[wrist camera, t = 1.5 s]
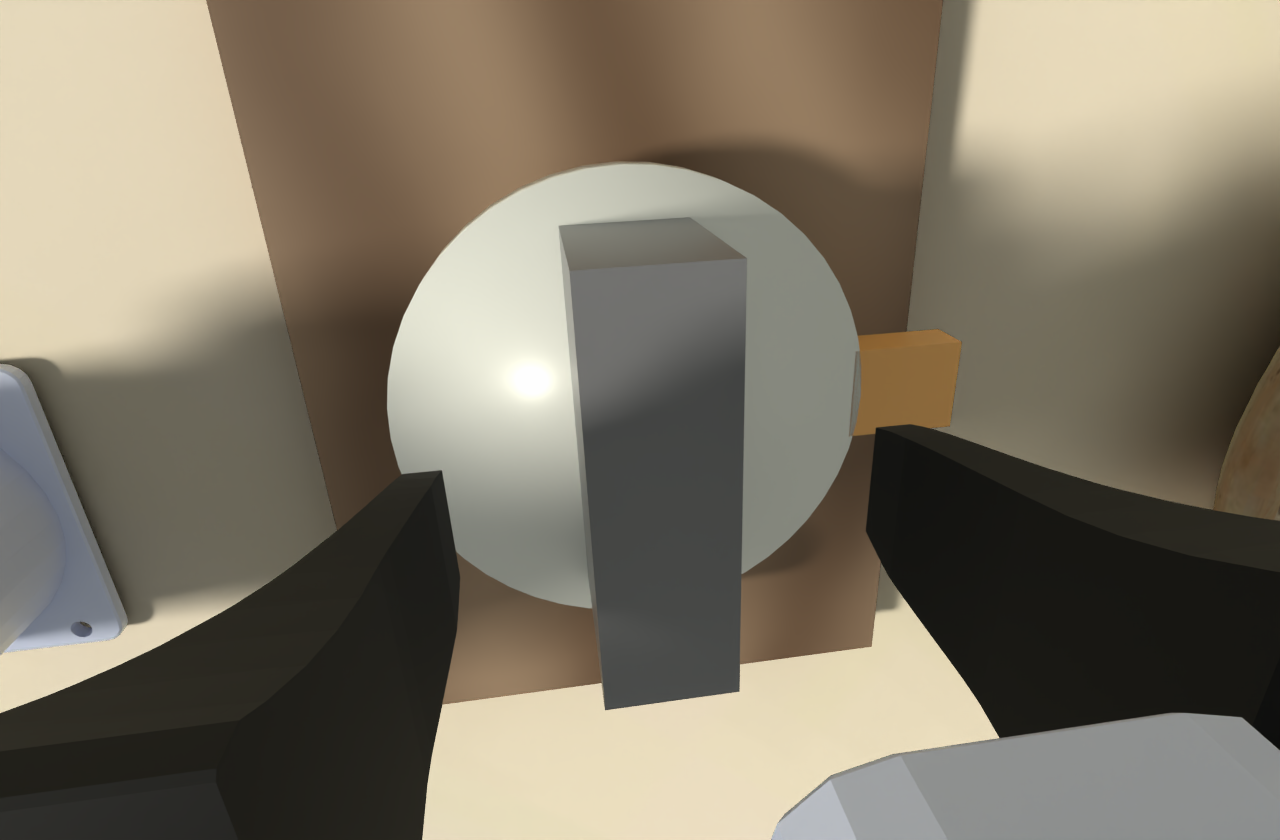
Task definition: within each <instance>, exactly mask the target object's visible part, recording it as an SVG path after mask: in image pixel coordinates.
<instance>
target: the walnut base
mask: <svg viewBox="0 0 1280 840" xmlns="http://www.w3.org/2000/svg"><path fill="white" fill-rule="evenodd" d="M206 1H207V5H208V9H209V13H210V17H211V21H212V25H213V29H214V33H215V38H216V42H217V46H218V50H219V54H220V58H221V62H222V66H223V70H224V74H225V78H226V82H227V86H228V90H229V94H230V98H231V102H232V106H233V110H234V115H235V119H236V123H237V127H238V131H239V135H240V139H241V143H242V147H243V151H244V155H245V159H246V163H247V167H248V171H249V175H250V179H251V183H252V187H253V191H254V196H255V200H256V204H257V208H258V212H259V216H260V220H261V224H262V228H263V232H264V236H265V240H266V244H267V248H268V252H269V256H270V260H271V264H272V268H273V273H274V277H275V281H276V285H277V289H278V293H279V297H280V301H281V305H282V309H283V313H284V317H285V321H286V325H287V329H288V333H289V337H290V341H291V345H292V350H293V354H294V358H295V362H296V366H297V370H298V374H299V378H300V382H301V386H302V390H303V394H304V398H305V402H306V406H307V410H308V414H309V418H310V422H311V426H312V431H313V435H314V439H315V443H316V447H317V451H318V455H319V459H320V463H321V467H322V471H323V475H324V479H325V483H326V487H327V491H328V495H329V499H330V503H331V508H332V512H333V516H334V520H335V524H336V528H337V530H339V529H340V528H341V527H342V526H343V525H344V524H345V523H347V522H348V521H349V520H350V519H351V518H352V517H353V516H355V515H356V514H357V513H358V512H359V511H360V510H361V509H363V508H364V507H365V506H366V505H367V504H368V503H369V502H370V501H372V500H373V499H374V498H375V497H376V496H377V495H378V494H379V493H380V492H382V491H383V490H384V489H385V488H386V487H387V486H388V485H389V484H391V483H392V482H393V481H394V480H395V479H397V478H398V477H399V476H401V475H402V474H401V471H400V469H399V467H398V463H397V460H396V456H395V452H394V449H393V445H392V442H391V437H390V429H389V421H388V413H387V388H388V374H389V368H390V362H391V356H392V351H393V346H394V343H395V340H396V337H397V334H398V331H399V328H400V325H401V322H402V319H403V316H404V314H405V312H406V310H407V308H408V306H409V304H410V302H411V300H412V298H413V296H414V294H415V292H416V290H417V288H418V286H419V284H420V283H421V281H422V279H423V278H424V276H425V275H426V273H427V272H428V270H429V269H430V267H431V266H432V264H433V263H434V262H435V260H436V259H437V257H438V256H439V254H440V253H441V252H442V250H443V249H444V248H445V247H446V246H447V245H448V243H449V242H450V241H451V240H452V239H453V238H454V237H455V236H456V235H457V234H458V233H459V232H460V231H461V229H462V228H463V227H464V226H465V225H466V224H468V223H469V222H470V221H471V220H473V219H474V218H475V217H476V216H478V215H479V214H480V213H481V212H482V211H484V210H485V209H486V208H487V207H489V206H490V205H491V204H493V203H495V202H496V201H498V200H500V199H501V198H503V197H505V196H506V195H508V194H510V193H511V192H513V191H515V190H516V189H518V188H520V187H522V186H524V185H527V184H529V183H531V182H534V181H536V180H538V179H541V178H543V177H545V176H548V175H550V174H554V173H557V172H561V171H565V170H568V169H572V168H576V167H580V166H584V165H592V164H600V163H607V162H615V161H621V162H653V163H659V164H666V165H672V166H679V167H683V168H686V169H690V170H693V171H696V172H700V173H703V174H706V175H709V176H712V177H715V178H717V179H720V180H722V181H725V182H727V183H729V184H731V185H733V186H735V187H737V188H740V189H742V190H744V191H746V192H748V193H750V194H752V195H754V196H756V197H757V198H759V199H760V200H762V201H763V202H765V203H766V204H768V205H769V206H771V207H772V208H774V209H775V210H777V211H779V212H780V213H781V214H782V215H784V216H785V217H786V218H787V219H788V220H789V221H790V222H791V223H793V224H794V225H795V226H796V227H797V228H798V229H799V230H800V231H801V232H803V233H804V234H805V235H806V237H807V238H808V239H809V240H810V242H811V243H812V244H813V245H814V246H815V248H816V249H817V250H818V251H819V252H820V254H821V255H822V256H823V257H824V259H825V260H826V262H827V264H828V265H829V267H830V269H831V270H832V272H833V273H834V275H835V277H836V278H837V280H838V282H839V283H840V286H841V288H842V290H843V293H844V295H845V298H846V300H847V302H848V305H849V307H850V309H851V313H852V316H853V320H854V324H855V328H856V332H857V335H858V336H862V335H873V334H885V333H897V332H906V330H907V321H908V312H909V303H910V294H911V285H912V276H913V267H914V258H915V249H916V240H917V231H918V222H919V213H920V204H921V195H922V186H923V177H924V168H925V159H926V150H927V141H928V132H929V123H930V113H931V104H932V95H933V86H934V77H935V68H936V59H937V50H938V41H939V32H940V23H941V14H942V5H943V0H206ZM874 441H875V434H868V435H858V436H852V440H851V443H850V446H849V449H848V452H847V454H846V456H845V459H844V461H843V463H842V466H841V468H840V470H839V473H838V475H837V476H836V478H835V480H834V481H833V483H832V485H831V487H830V488H829V490H828V492H827V493H826V495H825V497H824V498H823V500H822V501H821V502H820V504H819V505H818V506H817V508H816V509H815V510H814V512H813V513H812V514H811V516H810V517H809V518H808V520H807V521H806V522H805V523H804V524H803V525H802V526H801V527H800V528H799V529H798V530H797V531H796V532H795V533H794V534H793V535H792V537H791V538H790V539H789V540H787V541H786V542H785V543H784V544H783V545H782V546H780V547H779V548H778V549H777V550H776V551H774V552H773V553H772V554H771V555H770V556H769V557H767V558H766V559H764V560H763V561H761V562H760V563H758V564H757V565H755V566H754V567H752V568H751V569H750V570H748V571H747V572H745V573H743V574H741V628H740V664H746V663H753V662H761V661H768V660H775V659H783V658H790V657H798V656H805V655H812V654H820V653H827V652H835V651H842V650H849V649H857V648H864V647H872V638H873V629H874V620H875V610H876V601H877V592H878V583H879V574H880V565H881V561H880V559H879V557H878V555H877V553H876V551H875V549H874V547H873V545H872V543H871V541H870V539H869V537H868V535H867V533H866V522H867V512H868V501H869V491H870V481H871V471H872V461H873V451H874ZM456 555H457V561H458V567H459V572H460V593H459V610H458V624H457V633H456V639H455V644H454V649H453V654H452V659H451V664H450V669H449V674H448V679H447V684H446V689H445V693H444V698H443V703H442V704H449V703H457V702H464V701H472V700H479V699H486V698H494V697H501V696H509V695H516V694H523V693H531V692H538V691H546V690H553V689H561V688H568V687H575V686H583V685H590V684H598V683H602V682H601V674H600V666H599V658H598V650H597V642H596V634H595V626H594V618H593V611H592V608H584V607H577V606H570V605H564V604H559V603H555V602H552V601H548V600H544V599H540V598H537V597H534V596H531V595H529V594H526V593H524V592H521V591H518V590H516V589H513V588H511V587H509V586H507V585H505V584H503V583H501V582H500V581H498V580H496V579H494V578H492V577H490V576H488V575H487V574H485V573H484V572H482V571H481V570H479V569H478V568H477V567H475V566H474V565H472V564H471V563H470V562H468V561H467V560H465V559H464V558H463V557H462V556H461V555H460V554H458V553H457V552H456Z"/></svg>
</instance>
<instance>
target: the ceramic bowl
mask: <svg viewBox="0 0 1280 840" xmlns="http://www.w3.org/2000/svg"><path fill="white" fill-rule="evenodd" d="M1213 510H1216V511H1221V512H1227V513H1233V514H1239V515H1244V516H1250V517H1256V518H1263V519H1270V520H1278V521H1280V346H1279V348H1278V350H1277V351H1276V353H1275V355H1274V356H1273V358H1272V360H1271V362H1270V364H1269V366H1268V367H1267V369H1266V371H1265V372H1264V374H1263V376H1262V377H1261V379H1260V380H1259V382H1258V384H1257V386H1256V388H1255V390H1254V392H1253V394H1252V396H1251V398H1250V400H1249V402H1248V404H1247V407H1246V409H1245V411H1244V413H1243V415H1242V417H1241V419H1240V421H1239V423H1238V425H1237V427H1236V429H1235V432H1234V434H1233V437H1232V440H1231V443H1230V445H1229V448H1228V451H1227V453H1226V456H1225V459H1224V462H1223V464H1222V469H1221V473H1220V477H1219V481H1218V485H1217V490H1216V496H1215V502H1214V508H1213Z"/></svg>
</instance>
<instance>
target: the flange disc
mask: <svg viewBox="0 0 1280 840" xmlns="http://www.w3.org/2000/svg"><path fill="white" fill-rule="evenodd" d="M961 345H962V342H961V341H959V340H957V339H955V338H954V337H952V336H950V335H948V334H946V333H945V332H943V331H941V330H939V329H932V330H920V331H909V332H897V333H885V334H873V335H862V336H858V335H857V332H856V328H855V324H854V320H853V316H852V313H851V309H850V307H849V305H848V302H847V300H846V298H845V295H844V293H843V290H842V288H841V286H840V283H839V282H838V280H837V278H836V277H835V275H834V273H833V272H832V270H831V269H830V267H829V265H828V264H827V262H826V260H825V259H824V257H823V256H822V255H821V254H820V252H819V251H818V250H817V249H816V248H815V246H814V245H813V244H812V243H811V242H810V240H809V239H808V238H807V237H806V235H805V234H804V233H803V232H801V231H800V230H799V229H798V228H797V227H796V226H795V225H794V224H793V223H791V222H790V221H789V220H788V219H787V218H786V217H785V216H784V215H782V214H781V213H780V212H779V211H777V210H775V209H774V208H772V207H771V206H769V205H768V204H766V203H765V202H763V201H762V200H760V199H759V198H757V197H756V196H754V195H752V194H750V193H748V192H746V191H744V190H742V189H740V188H737V187H735V186H733V185H731V184H729V183H727V182H725V181H722V180H720V179H717V178H715V177H712V176H709V175H706V174H703V173H700V172H696V171H693V170H690V169H686V168H683V167H679V166H672V165H666V164H659V163H653V162H621V161H615V162H607V163H600V164H592V165H584V166H580V167H576V168H572V169H568V170H565V171H561V172H557V173H554V174H550V175H548V176H545V177H543V178H541V179H538V180H536V181H534V182H531V183H529V184H527V185H524V186H522V187H520V188H518V189H516V190H515V191H513V192H511V193H510V194H508V195H506V196H505V197H503V198H501V199H500V200H498V201H496V202H495V203H493V204H491V205H490V206H489V207H487V208H486V209H485V210H484V211H482V212H481V213H480V214H479V215H478V216H476V217H475V218H474V219H473V220H471V221H470V222H469V223H468V224H466V225H465V226H464V227H463V228H462V229H461V231H460V232H459V233H458V234H457V235H456V236H455V237H454V238H453V239H452V240H451V241H450V242H449V243H448V245H447V246H446V247H445V248H444V249H443V250H442V252H441V253H440V254H439V256H438V257H437V259H436V260H435V262H434V263H433V264H432V266H431V267H430V269H429V270H428V272H427V273H426V275H425V276H424V278H423V279H422V281H421V283H420V284H419V286H418V288H417V290H416V292H415V294H414V296H413V298H412V300H411V302H410V304H409V306H408V308H407V310H406V312H405V314H404V316H403V319H402V322H401V325H400V328H399V331H398V334H397V337H396V340H395V343H394V346H393V351H392V356H391V362H390V368H389V374H388V388H387V413H388V421H389V429H390V437H391V442H392V445H393V449H394V452H395V456H396V460H397V463H398V467H399V469H400V471H401V474H408V473H418V472H428V471H438V470H442V473H443V479H444V485H445V491H446V497H447V503H448V508H449V514H450V520H451V526H452V532H453V538H454V543H455V549H456V552H457V553H458V554H460V555H461V556H462V557H463V558H464V559H465V560H467V561H468V562H470V563H471V564H472V565H474V566H475V567H477V568H478V569H479V570H481V571H482V572H484V573H485V574H487V575H488V576H490V577H492V578H494V579H496V580H498V581H500V582H501V583H503V584H505V585H507V586H509V587H511V588H513V589H516V590H518V591H521V592H524V593H526V594H529V595H531V596H534V597H537V598H540V599H544V600H548V601H552V602H555V603H559V604H564V605H570V606H577V607H584V608H592V611H593V618H594V626H595V634H596V642H597V650H598V658H599V666H600V674H601V682H602V689H603V697H604V705H605V710H610V709H617V708H624V707H631V706H639V705H646V704H653V703H660V702H667V701H674V700H682V699H689V698H696V697H703V696H710V695H718V694H725V693H732V692H739V684H740V628H741V574H743V573H745V572H747V571H748V570H750V569H751V568H752V567H754V566H755V565H757V564H758V563H760V562H761V561H763V560H764V559H766V558H767V557H769V556H770V555H771V554H772V553H773V552H774V551H776V550H777V549H778V548H779V547H780V546H782V545H783V544H784V543H785V542H786V541H787V540H789V539H790V538H791V537H792V535H793V534H794V533H795V532H796V531H797V530H798V529H799V528H800V527H801V526H802V525H803V524H804V523H805V522H806V521H807V520H808V518H809V517H810V516H811V514H812V513H813V512H814V510H815V509H816V508H817V506H818V505H819V504H820V502H821V501H822V500H823V498H824V497H825V495H826V493H827V492H828V490H829V488H830V487H831V485H832V483H833V481H834V480H835V478H836V476H837V475H838V473H839V470H840V468H841V466H842V463H843V461H844V459H845V456H846V454H847V452H848V449H849V446H850V443H851V440H852V436H858V435H868V434H875V431H876V427H886V426H896V425H906V424H913V425H918V426H922V427H926V428H937V427H947V426H950V421H951V415H952V408H953V401H954V394H955V387H956V380H957V373H958V366H959V359H960V352H961Z"/></svg>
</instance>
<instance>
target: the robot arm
mask: <svg viewBox="0 0 1280 840" xmlns="http://www.w3.org/2000/svg"><path fill="white" fill-rule="evenodd" d="M866 533H867V535H868V537H869V539H870V541H871V543H872V545H873V547H874V549H875V551H876V553H877V555H878V557H879V559H880V561H881V563H882V565H883V567H884V568H885V570H886V572H887V574H888V576H889V578H890V579H891V580H892V582H893V583H894V585H895V586H896V588H897V589H898V591H899V592H900V593H901V595H902V596H903V598H904V599H905V600H906V602H907V603H908V604H909V606H910V607H911V609H912V610H913V611H914V613H915V614H916V616H917V617H918V618H919V620H920V621H921V622H922V624H923V625H924V626H925V628H926V629H927V631H928V632H929V633H930V635H931V636H932V637H933V639H934V640H935V641H936V643H937V644H938V645H939V647H940V648H941V650H942V651H943V652H944V654H945V655H946V656H947V658H948V659H949V660H950V662H951V663H952V664H953V666H954V667H955V669H956V670H957V671H958V673H959V674H960V675H961V677H962V678H963V679H964V681H965V682H966V684H967V685H968V687H969V688H970V690H971V691H972V693H973V694H974V696H975V697H976V699H977V700H978V702H979V703H980V705H981V707H982V708H983V710H984V712H985V714H986V715H987V717H988V719H989V720H990V722H991V724H992V726H993V727H994V729H995V731H996V733H997V734H998V736H999V738H998V739H992V740H985V741H978V742H971V743H965V744H958V745H951V746H945V747H938V748H931V749H924V750H918V751H911V752H904V753H898V754H892V755H889V756H886V757H883V758H880V759H877V760H874V761H871V762H868V763H866V764H863V765H860V766H857V767H854V768H851V769H848V770H845V771H842V772H839V773H836V774H834V775H831V776H830V777H828V778H827V779H826V780H825V781H824V782H822V783H821V784H820V785H819V786H818V787H816V788H815V789H814V790H813V791H812V792H811V793H809V794H808V795H807V796H806V797H805V798H803V799H802V800H801V801H800V802H799V803H797V804H796V805H795V806H794V807H793V808H791V809H790V810H789V811H788V812H787V813H785V814H784V816H783V817H782V818H781V820H780V821H779V822H778V824H777V826H776V829H775V831H774V834H773V836H772V838H771V840H1280V521H1278V520H1270V519H1263V518H1256V517H1250V516H1244V515H1239V514H1233V513H1227V512H1221V511H1216V510H1210V509H1204V508H1198V507H1194V506H1189V505H1184V504H1179V503H1174V502H1169V501H1165V500H1161V499H1156V498H1152V497H1148V496H1144V495H1140V494H1136V493H1131V492H1127V491H1123V490H1119V489H1115V488H1111V487H1108V486H1104V485H1100V484H1097V483H1093V482H1090V481H1087V480H1084V479H1080V478H1077V477H1074V476H1070V475H1067V474H1064V473H1061V472H1057V471H1054V470H1051V469H1048V468H1045V467H1042V466H1039V465H1036V464H1033V463H1030V462H1027V461H1024V460H1021V459H1018V458H1015V457H1013V456H1010V455H1007V454H1004V453H1001V452H998V451H996V450H993V449H990V448H987V447H984V446H981V445H979V444H976V443H973V442H970V441H967V440H964V439H962V438H959V437H956V436H953V435H950V434H947V433H943V432H940V431H937V430H934V429H930V428H926V427H922V426H918V425H913V424H906V425H896V426H886V427H876V431H875V441H874V451H873V461H872V471H871V481H870V491H869V501H868V512H867V522H866ZM459 593H460V572H459V567H458V561H457V555H456V549H455V543H454V538H453V532H452V526H451V520H450V514H449V508H448V503H447V497H446V491H445V485H444V479H443V473H442V470H438V471H428V472H418V473H408V474H402V475H401V476H399V477H398V478H397V479H395V480H394V481H393V482H392V483H391V484H389V485H388V486H387V487H386V488H385V489H384V490H383V491H382V492H380V493H379V494H378V495H377V496H376V497H375V498H374V499H373V500H372V501H370V502H369V503H368V504H367V505H366V506H365V507H364V508H363V509H361V510H360V511H359V512H358V513H357V514H356V515H355V516H353V517H352V518H351V519H350V520H349V521H348V522H347V523H345V524H344V525H343V526H342V527H341V528H340V529H339V530H337V531H336V532H335V533H334V534H333V535H331V536H330V537H329V538H328V539H326V540H325V541H324V542H322V543H321V544H320V545H319V546H317V547H316V548H315V549H314V550H312V551H311V552H310V553H308V554H307V555H306V556H305V557H303V558H302V559H301V560H300V561H298V562H297V563H296V564H294V565H293V566H292V567H291V568H289V569H288V570H286V571H285V572H284V573H282V574H281V575H279V576H278V577H276V578H275V579H274V580H272V581H271V582H269V583H268V584H266V585H265V586H263V587H262V588H260V589H259V590H257V591H255V592H254V593H252V594H251V595H249V596H248V597H246V598H244V599H243V600H241V601H240V602H238V603H237V604H235V605H233V606H232V607H230V608H228V609H227V610H225V611H223V612H222V613H220V614H218V615H216V616H214V617H212V618H210V619H209V620H207V621H205V622H203V623H201V624H199V625H198V626H196V627H194V628H192V629H190V630H188V631H186V632H185V633H183V634H181V635H179V636H177V637H175V638H174V639H172V640H170V641H168V642H166V643H164V644H162V645H161V646H158V647H156V648H154V649H152V650H150V651H148V652H146V653H144V654H142V655H140V656H138V657H136V658H133V659H131V660H129V661H127V662H125V663H123V664H121V665H119V666H116V667H114V668H112V669H110V670H107V671H105V672H103V673H100V674H98V675H96V676H94V677H91V678H89V679H87V680H84V681H82V682H80V683H77V684H75V685H73V686H70V687H68V688H65V689H63V690H60V691H58V692H56V693H53V694H51V695H48V696H46V697H43V698H40V699H38V700H35V701H32V702H29V703H27V704H24V705H21V706H19V707H16V708H13V709H11V710H8V711H5V712H3V713H0V840H422V835H423V824H424V814H425V803H426V793H427V783H428V776H429V770H430V764H431V757H432V752H433V747H434V742H435V737H436V732H437V727H438V722H439V718H440V713H441V708H442V703H443V698H444V693H445V689H446V684H447V679H448V674H449V669H450V664H451V659H452V654H453V649H454V644H455V639H456V633H457V624H458V610H459ZM80 622H85V623H87V624H89V625H90V626H91V627H92V628H91V627H86V626H84V625H82V624H81V623H80ZM127 623H128V620H127V615H126V613H125V610H124V608H123V605H122V603H121V600H120V598H119V596H118V593H117V591H116V588H115V586H114V583H113V581H112V578H111V576H110V573H109V571H108V568H107V566H106V564H105V561H104V559H103V556H102V554H101V551H100V549H99V546H98V544H97V541H96V539H95V537H94V534H93V532H92V529H91V527H90V524H89V522H88V519H87V517H86V514H85V512H84V510H83V507H82V505H81V502H80V500H79V497H78V495H77V492H76V490H75V487H74V485H73V482H72V480H71V478H70V475H69V473H68V470H67V468H66V465H65V463H64V460H63V458H62V455H61V453H60V451H59V448H58V446H57V443H56V441H55V438H54V436H53V433H52V431H51V428H50V426H49V424H48V421H47V419H46V416H45V414H44V411H43V409H42V406H41V404H40V401H39V399H38V396H37V394H36V392H35V389H34V387H33V384H32V382H31V380H30V379H29V377H28V376H27V374H25V373H24V372H23V371H22V370H20V369H19V368H17V367H14V366H12V365H7V364H0V655H1V654H2V653H6V652H15V651H23V650H31V649H40V648H48V647H56V646H65V645H73V644H82V643H90V642H98V641H107V640H111V639H115V638H116V637H118V636H119V635H120V634H121V633H122V631H123V630H124V629H125V628H126V625H127Z"/></svg>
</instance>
